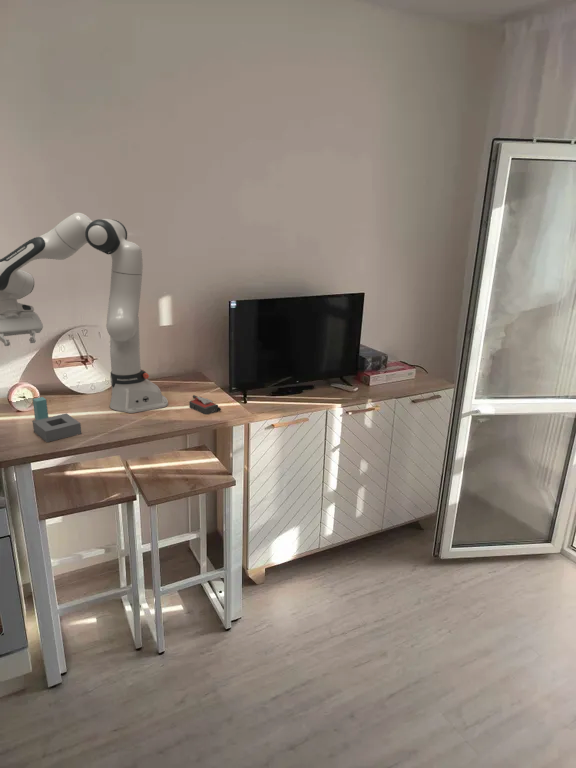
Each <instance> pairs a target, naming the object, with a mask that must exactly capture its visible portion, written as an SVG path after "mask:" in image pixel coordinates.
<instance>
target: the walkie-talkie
mask: <svg viewBox="0 0 576 768" xmlns="http://www.w3.org/2000/svg"><path fill="white" fill-rule="evenodd" d="M192 398H194V399H192V400H191V399H190V401H188V402H189V403H188V404H189V408H190V409H192V410H194V411H197V412H199V413H201V414H203V415H205V416H206V415H207V416H208V415H211V414H214V413H218V412H219V411H221V410H222V408H221V407H219V404H217V403H213V401H212V399H208V398H205V397H202V396H197V395H194V394H193V395H192Z"/></svg>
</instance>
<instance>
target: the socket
mask: <svg viewBox="0 0 576 768" xmlns="http://www.w3.org/2000/svg"><path fill="white" fill-rule="evenodd" d="M32 428H33V433H35V434H36V435H37V436H38V437H40V438H41V439H42V440H43V441H45V442H46V443H50V441H51V442H54V441H58V439H59V440H62V439H65V438H70V437H74V436H77V434H78V435H82V424H81V422H79V421H78V420H77V419H75V418H74V417H72V416H71V415H70V414H68V413H62V414H58V415H53V416H50V417H49V416H48V418H44V419H40V420H32Z"/></svg>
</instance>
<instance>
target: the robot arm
mask: <svg viewBox="0 0 576 768" xmlns="http://www.w3.org/2000/svg"><path fill="white" fill-rule="evenodd" d="M87 243H88V244H89V245H90V246H91V247H92V248H93V249H95V250H97V251H99V252H102V253H103V254H106V255H110V256H111V273H110V287H109V297H108V305H107V314H106V315H107V316H106V325H105V327H106V331H107V333H108V335H109V336H110V337H109V338H110V339H109V340H110V341H109V342H110V343H109V354H110V355H109V357H110V367H111V369H110V370H111V372H110V385H111V398H110V402H109V403H110V404H109V407H110V409H112V410H114V411H118V412H125V413H128V414H134V413H139V412H146V411H150V410H151V411H152V410H155V409H162V408H166V407H167V406H168V405H169V402H168V399H167V397H166V396H164V395H163V394H162V390H161V389H160V387H159V386H158V385H157V384H156V383H154V382H152V381H151V380H149V377H150V375H149V374H148V373H147V372H146V371H145V370H144V369H141V354H140V353H141V352H140V349H141V347H140V319H139V313H140V312H139V311H140V302H141V301H140V300H141V293H142V292H141V291H142V279H143V269H144V268H143V267H144V266H143V265H144V264H143V253H142V252H143V251H142V248H141V246H140V245H138V244H137V243H135V242H134V241H129V240H128V230H127V228H126V226H125V225H124V224H123V223H122V222H120V221H119V220H117V219H110V218H100V219H94V220H92V219H91V218H90V217H89V216H88V215H86V214H85V213H82V212H74V213H72V214H71V215H68V216H67V217H65V218H64V219H62V220H61V221H60V222H58V224H56V225H55V226H54V227H53V228H52V229H51V230H48V231H47V232H46V233H44V234H42V235H39V236H36V237H33V238H31V239H28V240H27V241H26V242H24V243H23V244H22V245H20V246H18V247H17V248H16V249H14V250H13V251H11V252H10V253H8V254H7V255H6V256H4V257H2V258H0V342H1V343H3V346H4V347H9V346H10V345H11V342H10V339H6V338H5V337H9V336H10V337H12V336H19V335H22V336H23V335H29V336H30V338H29V339H28V340H29V343H30V344H35V343H36V338H35V337H36V334H40V333H41V332H42V331H43V328H44V325H43V322H42V320H41V318H40V316H39V314H37V313H36V312H35V308H34V306H33V305H29V304H25V303H20V302H18V300H20V299H24V298H25V297H26V296H28V295H30V294H31V293H32V292H33V291H34V288H35V279H34V277H33V274H31V273H30V272H28V271H26V270H23V269H21V268H23V267H25V266H26V265H27V264H29V263H31V262H32V261H34V260H40V259H41V260H42V259H46V260H58V261H59V260H60V261H62V260H67V259H68V258H71V256H73V255H74V254H76V253H77V252H79V250H80V249H81V248H82V247H84V246H85V245H86V244H87Z"/></svg>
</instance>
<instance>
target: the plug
mask: <svg viewBox="0 0 576 768" xmlns="http://www.w3.org/2000/svg"><path fill="white" fill-rule="evenodd" d="M32 404H33V405H32V406H33V411H34V419H35V420H40V419H44V418H49V412H48V411H49V410H48V403H47V399H46V398H45V397H44V396H41V397H36V398H32ZM35 420H34V421H35Z"/></svg>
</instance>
